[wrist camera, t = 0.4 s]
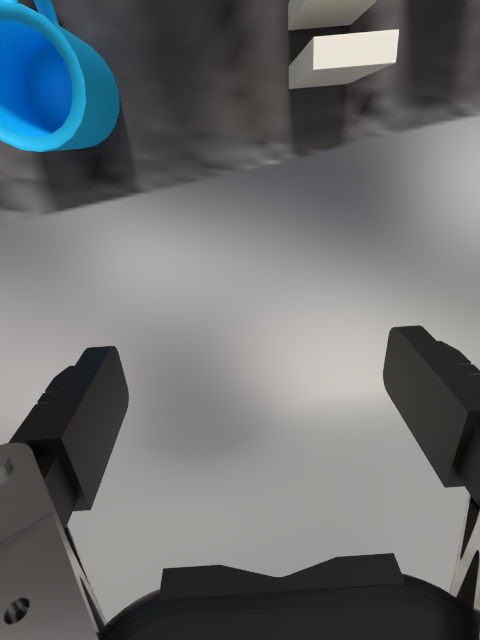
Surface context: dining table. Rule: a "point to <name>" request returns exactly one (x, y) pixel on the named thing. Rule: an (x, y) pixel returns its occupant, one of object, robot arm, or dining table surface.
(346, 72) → the domino
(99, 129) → the mug
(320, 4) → the domino
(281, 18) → the dining table surface
